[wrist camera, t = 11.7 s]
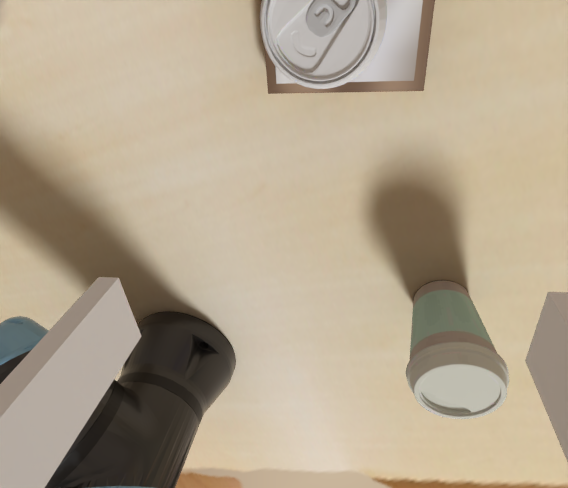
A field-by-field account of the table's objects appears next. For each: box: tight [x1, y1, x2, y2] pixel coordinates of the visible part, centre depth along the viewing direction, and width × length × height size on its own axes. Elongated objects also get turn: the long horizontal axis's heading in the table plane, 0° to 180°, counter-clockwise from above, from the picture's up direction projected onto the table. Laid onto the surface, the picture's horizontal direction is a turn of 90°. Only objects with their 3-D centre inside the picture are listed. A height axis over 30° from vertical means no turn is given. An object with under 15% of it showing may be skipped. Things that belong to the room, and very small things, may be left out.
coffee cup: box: [406, 280, 509, 419], centre depth 39 cm, size 8×9×12 cm
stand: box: [261, 0, 435, 94], centre depth 29 cm, size 12×12×3 cm
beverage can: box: [260, 0, 387, 89], centre depth 22 cm, size 5×5×15 cm
